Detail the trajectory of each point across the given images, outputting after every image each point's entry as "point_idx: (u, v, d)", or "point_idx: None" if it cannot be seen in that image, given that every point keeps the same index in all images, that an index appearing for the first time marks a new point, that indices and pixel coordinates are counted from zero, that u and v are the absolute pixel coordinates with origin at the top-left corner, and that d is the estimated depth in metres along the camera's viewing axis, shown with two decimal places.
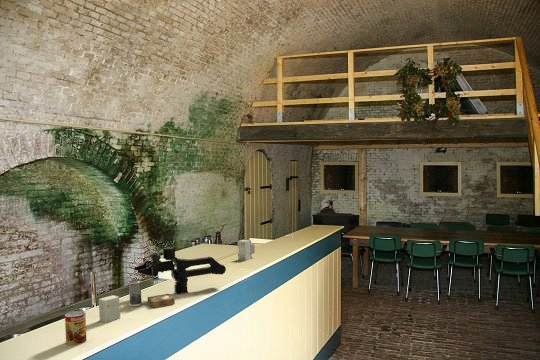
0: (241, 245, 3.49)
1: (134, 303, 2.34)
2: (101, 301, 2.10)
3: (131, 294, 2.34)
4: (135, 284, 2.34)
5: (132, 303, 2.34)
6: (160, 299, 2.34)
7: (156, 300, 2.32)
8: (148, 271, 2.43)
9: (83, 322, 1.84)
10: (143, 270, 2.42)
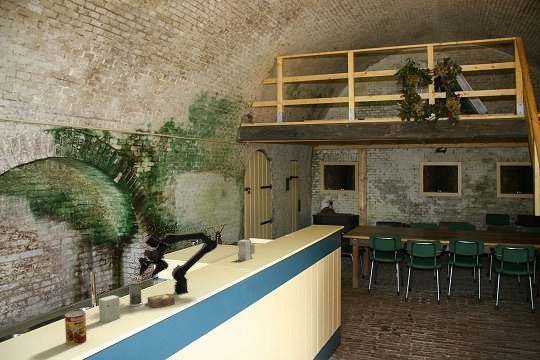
0: (241, 245, 3.49)
1: (134, 303, 2.34)
2: (101, 301, 2.10)
3: (131, 294, 2.34)
4: (135, 284, 2.34)
5: (132, 303, 2.34)
6: (160, 299, 2.34)
7: (156, 300, 2.32)
8: (158, 269, 2.44)
9: (83, 322, 1.84)
10: (155, 272, 2.42)
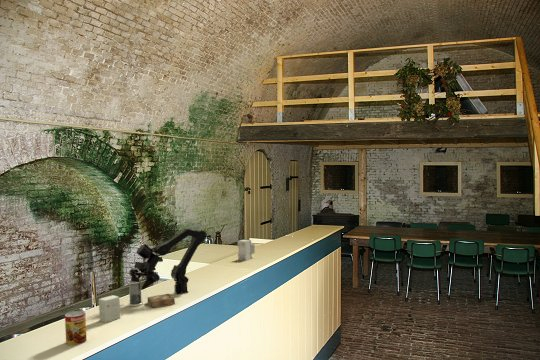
0: (241, 245, 3.49)
1: (134, 303, 2.34)
2: (101, 301, 2.10)
3: (131, 294, 2.34)
4: (135, 284, 2.34)
5: (132, 303, 2.34)
6: (160, 299, 2.34)
7: (156, 300, 2.32)
8: (149, 281, 2.38)
9: (83, 322, 1.84)
10: (145, 284, 2.36)
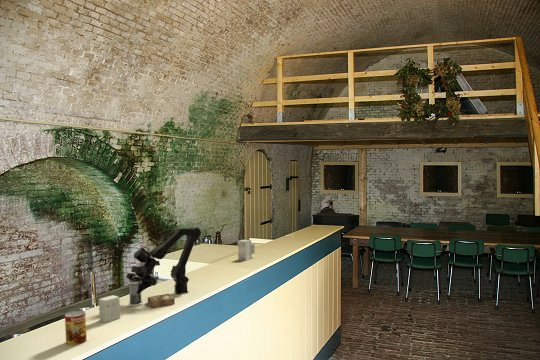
0: (241, 245, 3.49)
1: (134, 303, 2.34)
2: (101, 301, 2.10)
3: (131, 294, 2.34)
4: (135, 284, 2.34)
5: (132, 303, 2.34)
6: (160, 299, 2.34)
7: (156, 300, 2.32)
8: (144, 285, 2.37)
9: (83, 322, 1.84)
10: (141, 288, 2.35)
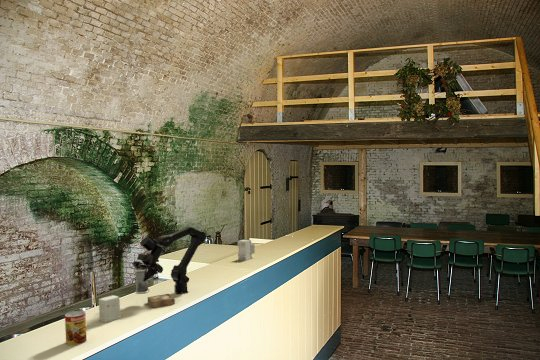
0: (241, 245, 3.49)
1: (141, 290, 2.34)
2: (101, 301, 2.10)
3: (137, 282, 2.34)
4: (141, 272, 2.34)
5: (139, 290, 2.34)
6: (160, 299, 2.34)
7: (156, 300, 2.32)
8: (151, 272, 2.37)
9: (83, 322, 1.84)
10: (147, 276, 2.35)
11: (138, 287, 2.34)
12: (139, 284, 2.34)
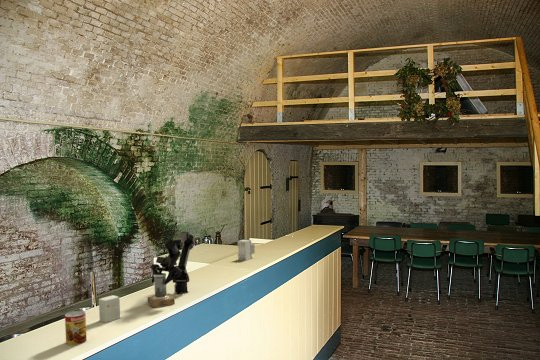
0: (241, 245, 3.49)
1: (159, 296, 2.34)
2: (101, 301, 2.10)
3: (156, 287, 2.35)
4: (160, 277, 2.34)
5: (157, 296, 2.35)
6: (160, 299, 2.34)
7: (156, 300, 2.32)
8: (171, 276, 2.37)
9: (83, 322, 1.84)
10: (168, 279, 2.35)
11: (157, 292, 2.35)
12: (158, 289, 2.34)
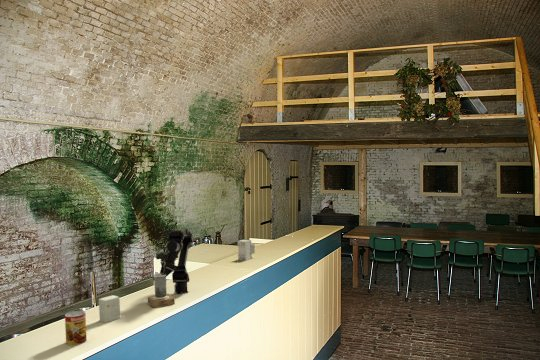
0: (241, 245, 3.49)
1: (159, 296, 2.34)
2: (101, 301, 2.10)
3: (156, 287, 2.35)
4: (160, 277, 2.34)
5: (157, 296, 2.35)
6: (160, 299, 2.34)
7: (156, 300, 2.32)
8: (167, 270, 2.42)
9: (83, 322, 1.84)
10: None
11: (157, 292, 2.35)
12: (158, 289, 2.34)
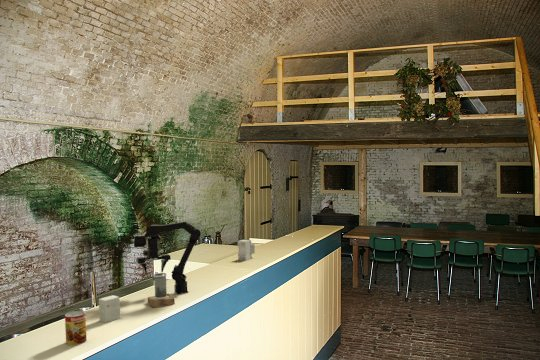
0: (241, 245, 3.49)
1: (159, 296, 2.34)
2: (101, 301, 2.10)
3: (156, 287, 2.35)
4: (161, 277, 2.34)
5: (157, 296, 2.35)
6: (160, 299, 2.34)
7: (156, 300, 2.32)
8: None
9: (83, 322, 1.84)
10: (144, 269, 2.54)
11: (157, 292, 2.35)
12: (158, 289, 2.34)
